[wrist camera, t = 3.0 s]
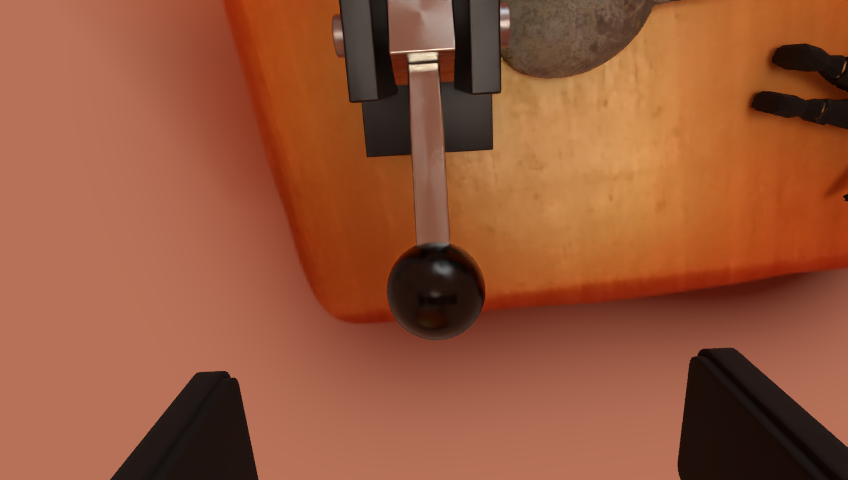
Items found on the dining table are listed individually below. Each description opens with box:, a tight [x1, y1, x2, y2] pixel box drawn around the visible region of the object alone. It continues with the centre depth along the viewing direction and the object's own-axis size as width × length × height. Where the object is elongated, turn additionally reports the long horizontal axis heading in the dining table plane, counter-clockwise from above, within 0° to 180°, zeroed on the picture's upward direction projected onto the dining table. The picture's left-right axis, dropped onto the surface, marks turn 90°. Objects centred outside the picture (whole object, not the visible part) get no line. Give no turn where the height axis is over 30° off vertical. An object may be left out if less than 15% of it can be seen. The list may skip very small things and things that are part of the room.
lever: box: [386, 0, 485, 340], centre depth 17 cm, size 12×3×3 cm, turn 4°
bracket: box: [332, 0, 511, 157], centre depth 21 cm, size 11×7×12 cm, turn 4°
